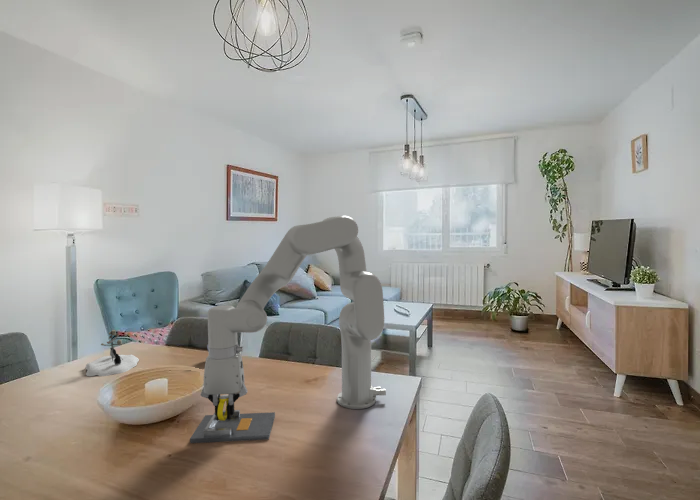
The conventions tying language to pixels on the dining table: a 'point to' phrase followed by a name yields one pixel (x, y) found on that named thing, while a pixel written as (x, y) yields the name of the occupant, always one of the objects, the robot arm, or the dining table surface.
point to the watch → (220, 407)
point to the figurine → (111, 361)
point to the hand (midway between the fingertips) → (224, 416)
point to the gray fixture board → (234, 428)
